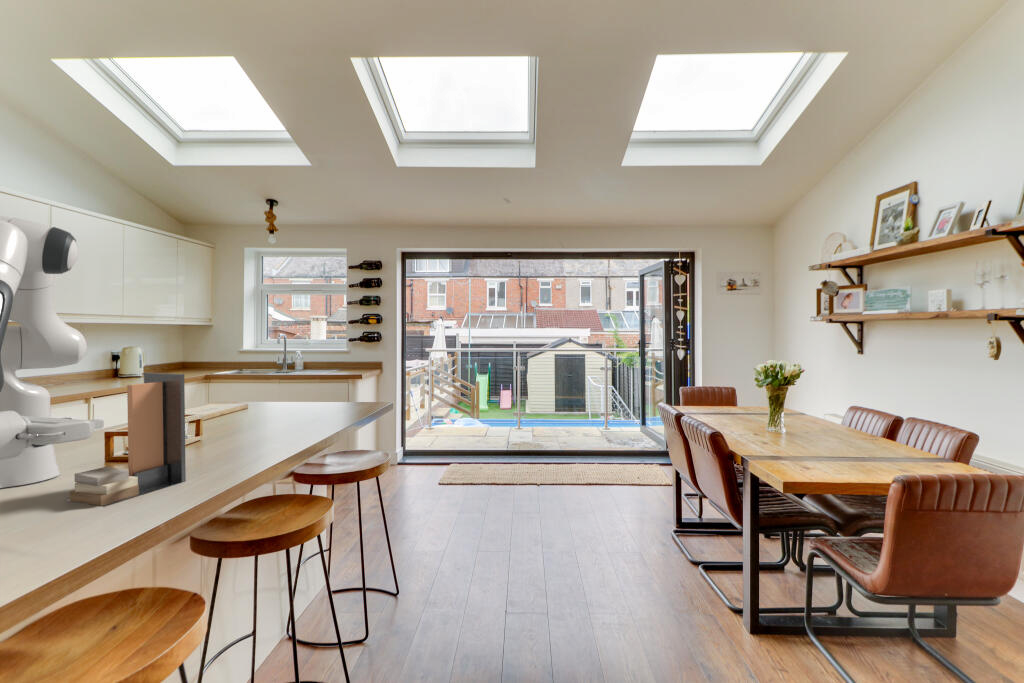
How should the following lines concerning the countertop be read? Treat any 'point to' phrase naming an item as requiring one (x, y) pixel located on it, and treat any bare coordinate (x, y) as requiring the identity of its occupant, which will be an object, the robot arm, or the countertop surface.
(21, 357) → the robot arm
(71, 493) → the offcut stack
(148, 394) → the sheet
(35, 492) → the countertop surface
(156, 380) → the rack
